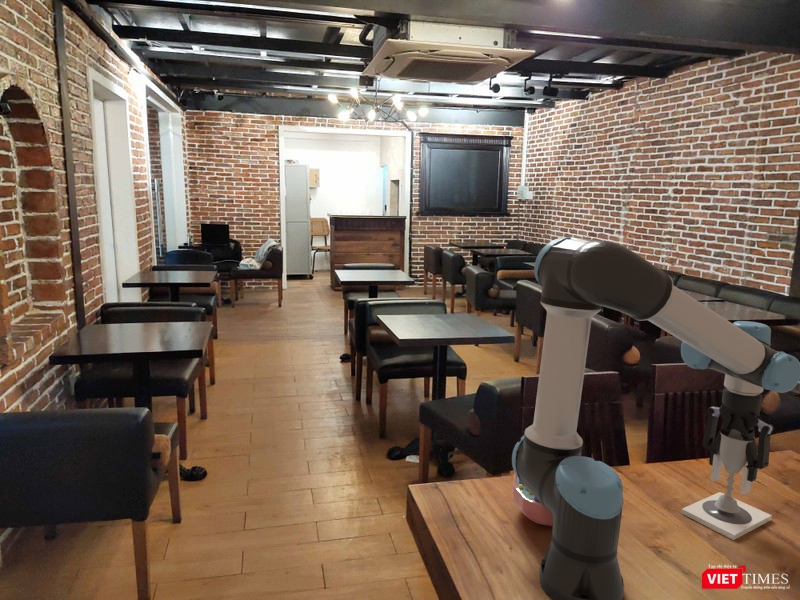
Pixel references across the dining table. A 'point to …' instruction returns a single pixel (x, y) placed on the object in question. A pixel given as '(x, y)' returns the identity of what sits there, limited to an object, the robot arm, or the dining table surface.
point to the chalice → (731, 467)
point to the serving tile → (726, 517)
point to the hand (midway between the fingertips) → (729, 485)
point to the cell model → (530, 504)
